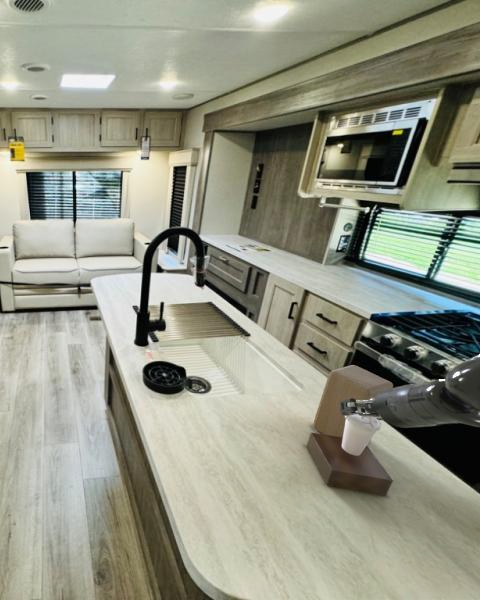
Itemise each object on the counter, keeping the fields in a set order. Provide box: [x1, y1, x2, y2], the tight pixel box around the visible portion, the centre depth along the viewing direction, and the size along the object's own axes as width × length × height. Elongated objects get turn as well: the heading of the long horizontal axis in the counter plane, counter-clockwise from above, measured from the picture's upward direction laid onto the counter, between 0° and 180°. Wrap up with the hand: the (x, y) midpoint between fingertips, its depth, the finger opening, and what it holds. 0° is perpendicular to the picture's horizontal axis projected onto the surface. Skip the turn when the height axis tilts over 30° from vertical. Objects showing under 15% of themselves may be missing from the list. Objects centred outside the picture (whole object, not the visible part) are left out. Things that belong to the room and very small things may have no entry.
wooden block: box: [312, 364, 394, 437], centre depth 86 cm, size 10×10×20 cm
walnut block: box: [306, 432, 394, 497], centre depth 78 cm, size 12×12×5 cm
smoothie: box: [342, 411, 382, 456], centre depth 74 cm, size 6×6×14 cm
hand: (359, 412), depth 75 cm, fingers closed on smoothie, 6 cm apart
